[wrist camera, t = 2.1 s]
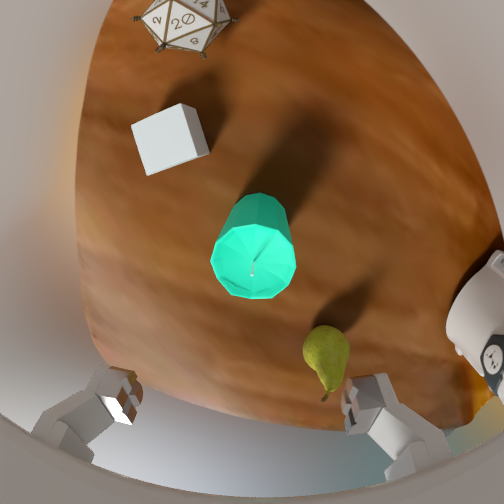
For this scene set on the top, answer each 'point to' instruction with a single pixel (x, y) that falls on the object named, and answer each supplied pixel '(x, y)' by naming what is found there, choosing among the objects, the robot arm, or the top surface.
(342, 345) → the fruit
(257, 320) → the top surface
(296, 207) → the top surface
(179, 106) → the grey block
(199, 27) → the game die
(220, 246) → the candle
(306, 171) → the top surface
